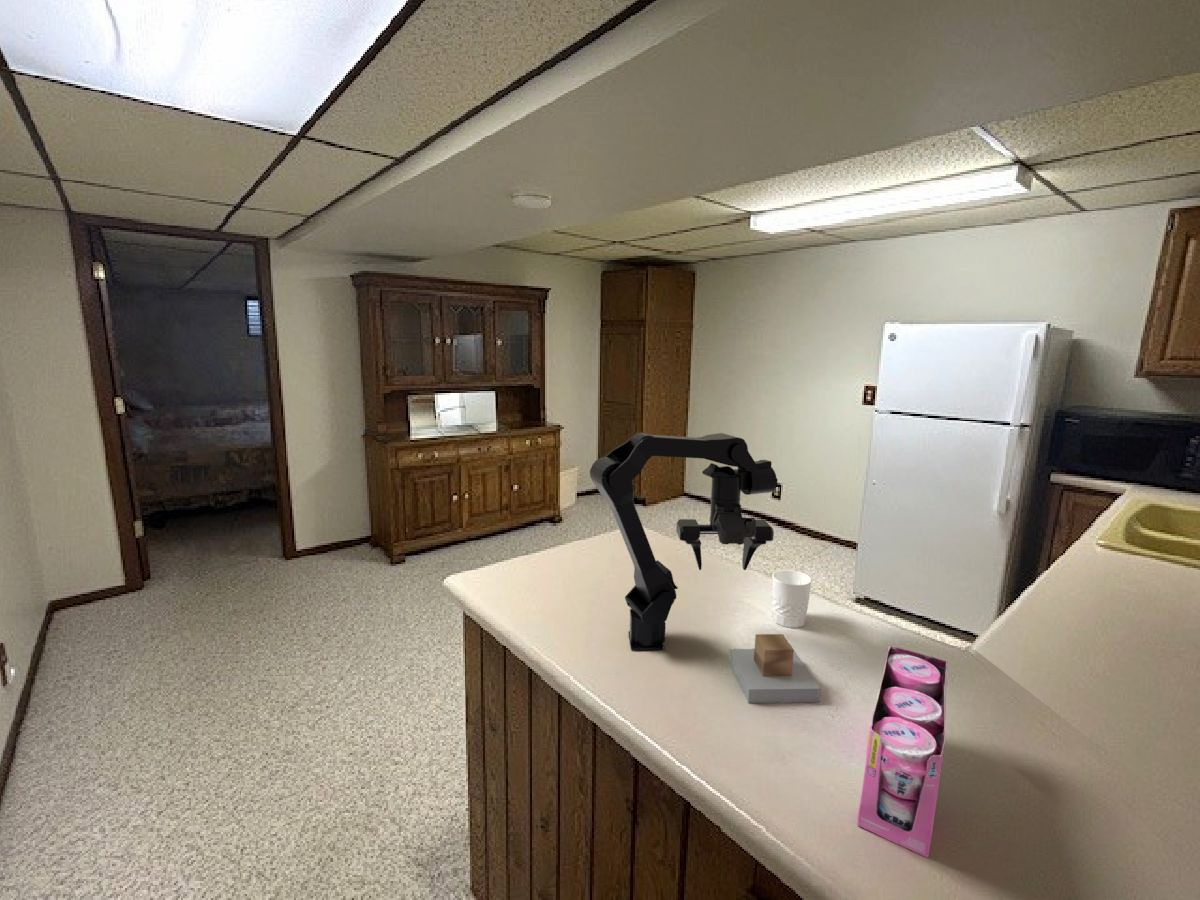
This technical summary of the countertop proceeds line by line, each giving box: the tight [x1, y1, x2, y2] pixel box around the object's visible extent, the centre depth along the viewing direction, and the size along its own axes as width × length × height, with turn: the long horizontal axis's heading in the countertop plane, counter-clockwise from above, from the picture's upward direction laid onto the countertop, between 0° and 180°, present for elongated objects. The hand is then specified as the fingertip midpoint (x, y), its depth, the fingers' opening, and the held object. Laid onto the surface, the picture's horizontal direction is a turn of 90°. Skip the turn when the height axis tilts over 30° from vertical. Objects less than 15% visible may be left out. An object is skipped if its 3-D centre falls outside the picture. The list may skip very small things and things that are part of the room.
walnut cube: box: [754, 633, 795, 676], centre depth 93 cm, size 5×5×5 cm
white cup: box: [771, 569, 813, 629], centre depth 114 cm, size 8×8×10 cm
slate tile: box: [728, 648, 822, 704], centre depth 94 cm, size 12×12×2 cm
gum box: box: [856, 645, 948, 858], centre depth 71 cm, size 24×8×14 cm, turn 146°
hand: (722, 569), depth 110 cm, fingers open, 9 cm apart
